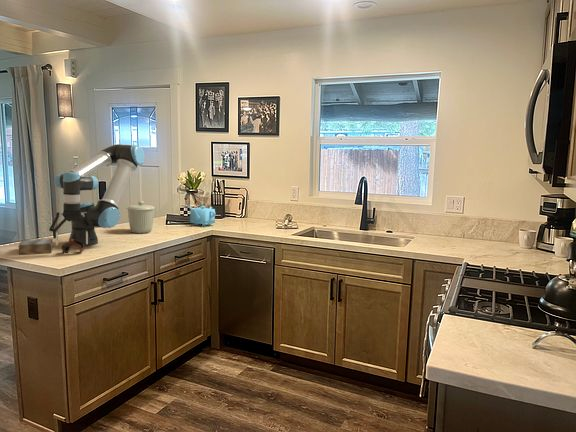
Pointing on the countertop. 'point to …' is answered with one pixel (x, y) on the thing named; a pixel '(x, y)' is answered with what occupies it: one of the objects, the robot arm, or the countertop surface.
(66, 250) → the brown headphones
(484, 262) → the countertop surface
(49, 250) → the walnut plinth
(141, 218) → the canister
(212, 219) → the teakettle
